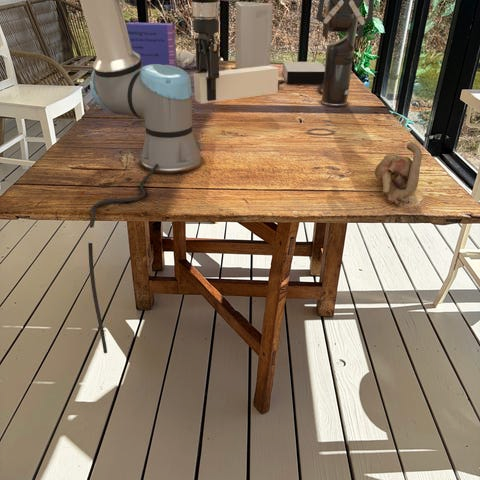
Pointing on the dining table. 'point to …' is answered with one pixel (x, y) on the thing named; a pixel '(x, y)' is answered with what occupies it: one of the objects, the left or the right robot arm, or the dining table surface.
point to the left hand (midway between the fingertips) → (208, 97)
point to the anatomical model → (399, 174)
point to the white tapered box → (253, 34)
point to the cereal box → (153, 42)
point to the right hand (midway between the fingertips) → (341, 39)
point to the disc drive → (303, 72)
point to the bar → (238, 83)
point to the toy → (186, 58)
